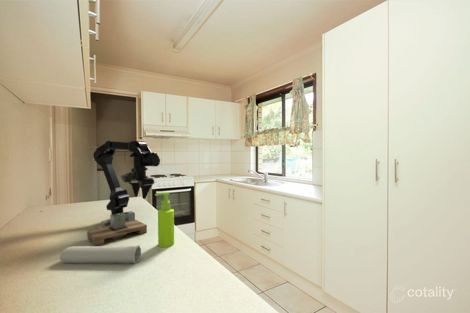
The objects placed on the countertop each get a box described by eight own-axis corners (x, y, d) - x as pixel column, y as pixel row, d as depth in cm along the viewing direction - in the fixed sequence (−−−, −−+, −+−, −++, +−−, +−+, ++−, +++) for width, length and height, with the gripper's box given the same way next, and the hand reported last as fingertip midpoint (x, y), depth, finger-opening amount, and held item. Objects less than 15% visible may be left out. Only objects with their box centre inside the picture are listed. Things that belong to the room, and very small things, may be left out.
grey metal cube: (101, 229, 105) (101, 221, 105) (112, 227, 109) (111, 219, 109) (104, 232, 102) (104, 223, 102) (115, 229, 106) (115, 220, 105)
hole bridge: (87, 239, 94) (87, 230, 94) (136, 227, 108) (136, 219, 108) (95, 246, 86) (95, 237, 86) (146, 232, 101) (146, 224, 101)
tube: (53, 254, 71) (132, 254, 71) (65, 242, 76) (139, 242, 76) (58, 267, 73) (135, 267, 73) (70, 255, 78) (142, 255, 78)
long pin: (110, 236, 97) (110, 215, 97) (121, 233, 100) (121, 212, 100) (114, 238, 94) (113, 217, 94) (125, 235, 97) (124, 214, 97)
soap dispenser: (154, 243, 89) (154, 192, 89) (173, 240, 92) (172, 190, 91) (156, 249, 84) (155, 194, 83) (175, 245, 86) (174, 193, 86)
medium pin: (122, 225, 112) (122, 212, 112) (131, 222, 115) (131, 211, 115) (125, 227, 109) (125, 214, 109) (135, 224, 112) (134, 212, 112)
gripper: (115, 166, 114) (116, 197, 115) (130, 167, 101) (131, 202, 102) (137, 165, 122) (138, 194, 123) (154, 166, 109) (154, 199, 110)
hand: (140, 197), depth 114 cm, fingers open, 9 cm apart
